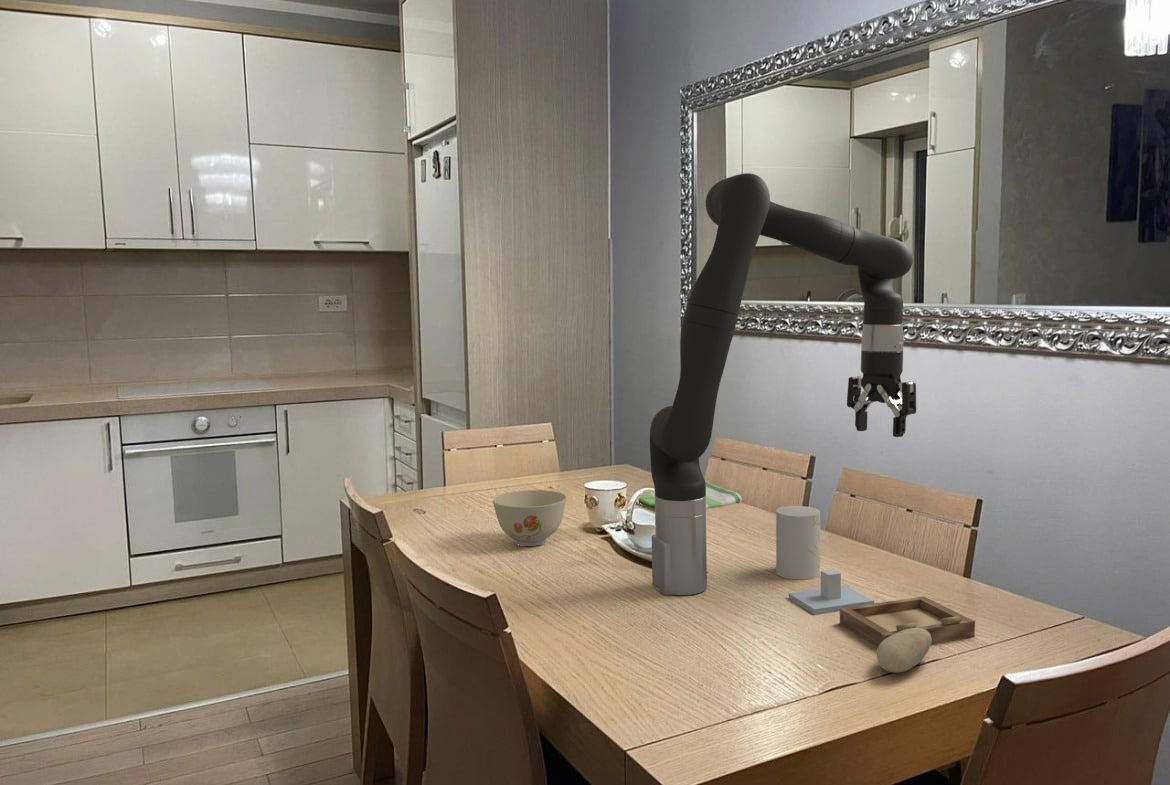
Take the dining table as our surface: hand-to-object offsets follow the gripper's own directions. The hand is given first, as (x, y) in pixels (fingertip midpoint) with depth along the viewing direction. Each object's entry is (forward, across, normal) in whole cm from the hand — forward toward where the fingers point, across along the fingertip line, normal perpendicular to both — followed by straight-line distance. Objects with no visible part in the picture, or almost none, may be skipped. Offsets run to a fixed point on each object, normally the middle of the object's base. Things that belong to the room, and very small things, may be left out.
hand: (879, 433), depth 168 cm
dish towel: (+27, -63, +4) cm, 69 cm away
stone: (+27, +32, -33) cm, 53 cm away
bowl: (+27, -55, -46) cm, 77 cm away
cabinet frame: (+26, +24, -22) cm, 42 cm away
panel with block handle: (+27, +8, -22) cm, 36 cm away
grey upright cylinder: (+26, -6, -14) cm, 31 cm away
